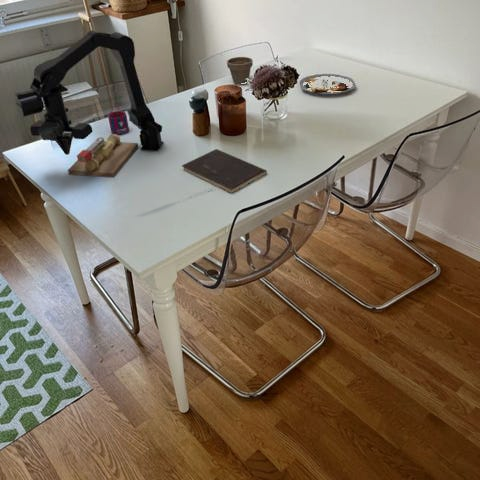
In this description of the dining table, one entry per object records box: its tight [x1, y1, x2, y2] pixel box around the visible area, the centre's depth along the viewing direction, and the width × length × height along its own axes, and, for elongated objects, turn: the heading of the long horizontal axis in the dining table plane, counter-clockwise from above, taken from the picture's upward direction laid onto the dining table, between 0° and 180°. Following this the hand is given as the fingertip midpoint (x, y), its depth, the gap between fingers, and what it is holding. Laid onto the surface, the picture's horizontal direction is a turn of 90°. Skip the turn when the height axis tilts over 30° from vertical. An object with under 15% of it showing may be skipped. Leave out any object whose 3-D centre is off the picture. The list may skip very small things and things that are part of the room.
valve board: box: [67, 133, 139, 178], centre depth 175 cm, size 16×22×6 cm
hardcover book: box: [181, 148, 268, 194], centre depth 166 cm, size 16×23×2 cm
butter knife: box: [178, 186, 217, 202], centre depth 153 cm, size 1×27×3 cm
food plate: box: [299, 73, 357, 95], centre depth 222 cm, size 25×23×4 cm
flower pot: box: [226, 56, 254, 85], centre depth 229 cm, size 12×11×10 cm
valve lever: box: [76, 136, 106, 162], centre depth 168 cm, size 14×3×2 cm, turn 165°
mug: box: [107, 110, 130, 136], centre depth 195 cm, size 7×10×7 cm
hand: (67, 154), depth 165 cm, fingers closed
